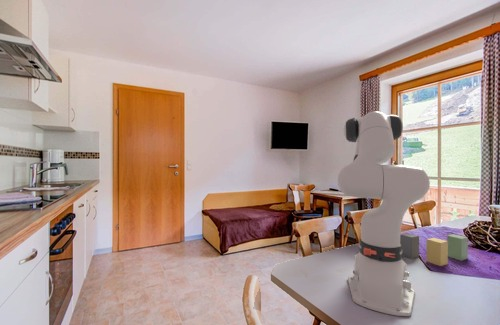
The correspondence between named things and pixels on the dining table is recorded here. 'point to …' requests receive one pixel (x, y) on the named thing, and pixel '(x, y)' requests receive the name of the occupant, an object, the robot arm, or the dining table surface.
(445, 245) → the mustard brick
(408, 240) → the charcoal brick
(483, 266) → the dining table surface
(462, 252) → the sage green brick
